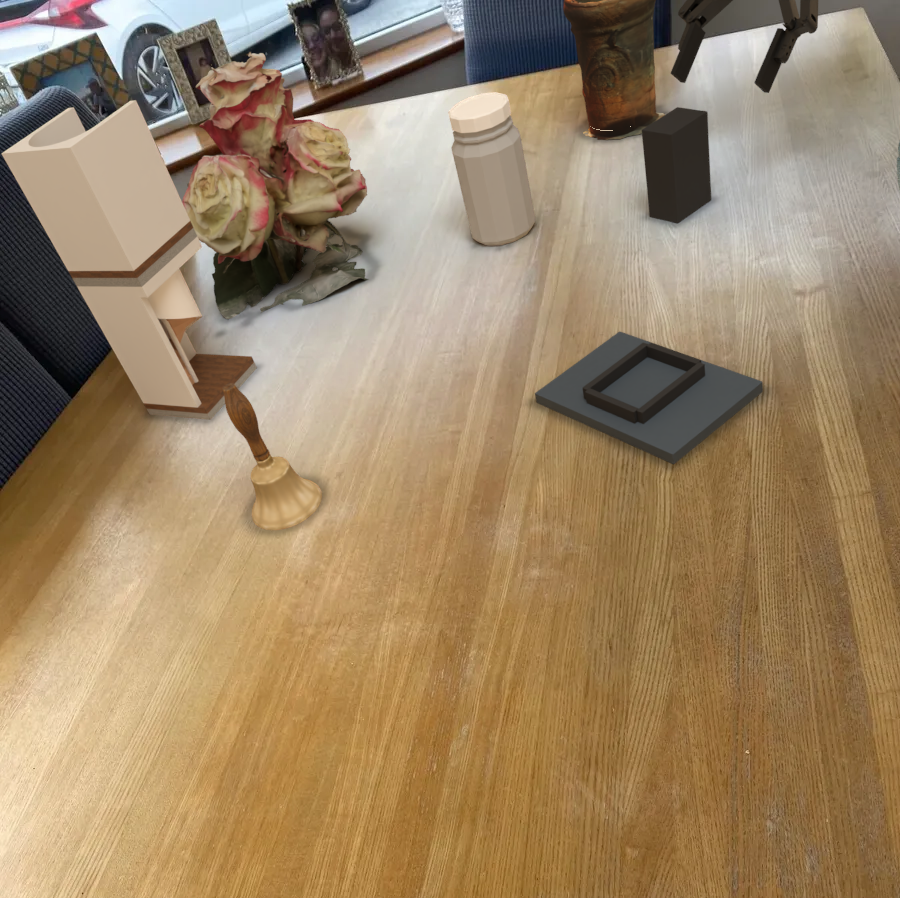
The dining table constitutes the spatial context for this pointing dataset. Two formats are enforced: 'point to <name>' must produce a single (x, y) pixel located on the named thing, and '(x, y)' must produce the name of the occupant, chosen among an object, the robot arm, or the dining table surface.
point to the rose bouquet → (270, 191)
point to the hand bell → (271, 473)
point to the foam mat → (649, 395)
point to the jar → (491, 169)
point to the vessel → (615, 64)
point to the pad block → (677, 164)
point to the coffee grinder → (126, 252)
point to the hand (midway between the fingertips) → (718, 83)
